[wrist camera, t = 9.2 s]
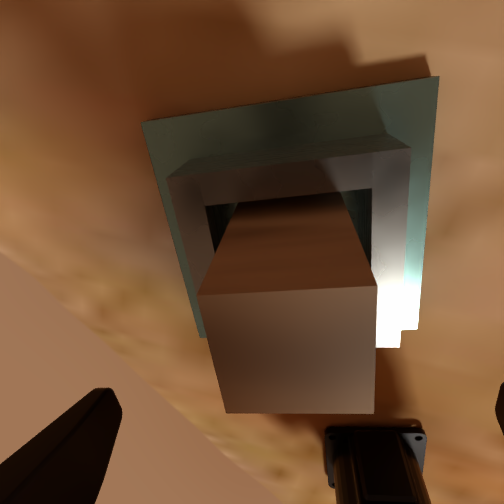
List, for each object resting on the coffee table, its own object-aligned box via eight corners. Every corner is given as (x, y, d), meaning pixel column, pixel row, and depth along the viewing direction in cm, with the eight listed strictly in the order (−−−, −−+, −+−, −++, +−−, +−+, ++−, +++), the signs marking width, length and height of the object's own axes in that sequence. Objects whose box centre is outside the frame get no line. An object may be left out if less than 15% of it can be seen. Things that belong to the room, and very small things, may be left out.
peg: (340, 272, 17) (373, 414, 10) (253, 278, 18) (226, 413, 10) (338, 186, 15) (377, 285, 8) (240, 197, 16) (196, 295, 9)
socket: (412, 319, 19) (440, 376, 15) (203, 328, 21) (184, 380, 17) (431, 76, 13) (481, 76, 10) (147, 120, 15) (103, 133, 12)
